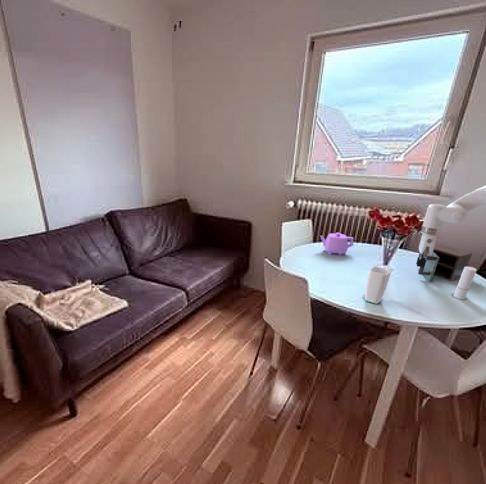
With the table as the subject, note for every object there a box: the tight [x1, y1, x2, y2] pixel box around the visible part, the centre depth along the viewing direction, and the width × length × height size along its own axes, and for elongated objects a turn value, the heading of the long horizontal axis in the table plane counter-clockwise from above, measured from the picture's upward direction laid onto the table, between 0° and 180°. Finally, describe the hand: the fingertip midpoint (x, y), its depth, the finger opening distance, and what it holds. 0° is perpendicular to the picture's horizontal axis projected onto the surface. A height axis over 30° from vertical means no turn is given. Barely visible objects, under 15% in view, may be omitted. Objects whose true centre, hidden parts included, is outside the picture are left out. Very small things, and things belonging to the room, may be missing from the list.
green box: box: [417, 252, 439, 283], centre depth 161 cm, size 6×15×14 cm, turn 164°
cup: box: [364, 266, 392, 305], centre depth 136 cm, size 7×7×15 cm
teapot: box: [319, 232, 354, 256], centre depth 193 cm, size 20×12×13 cm, turn 77°
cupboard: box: [433, 244, 473, 281], centre depth 163 cm, size 11×15×14 cm
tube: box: [453, 266, 478, 300], centre depth 139 cm, size 4×4×15 cm
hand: (420, 265), depth 157 cm, fingers closed on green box, 2 cm apart
